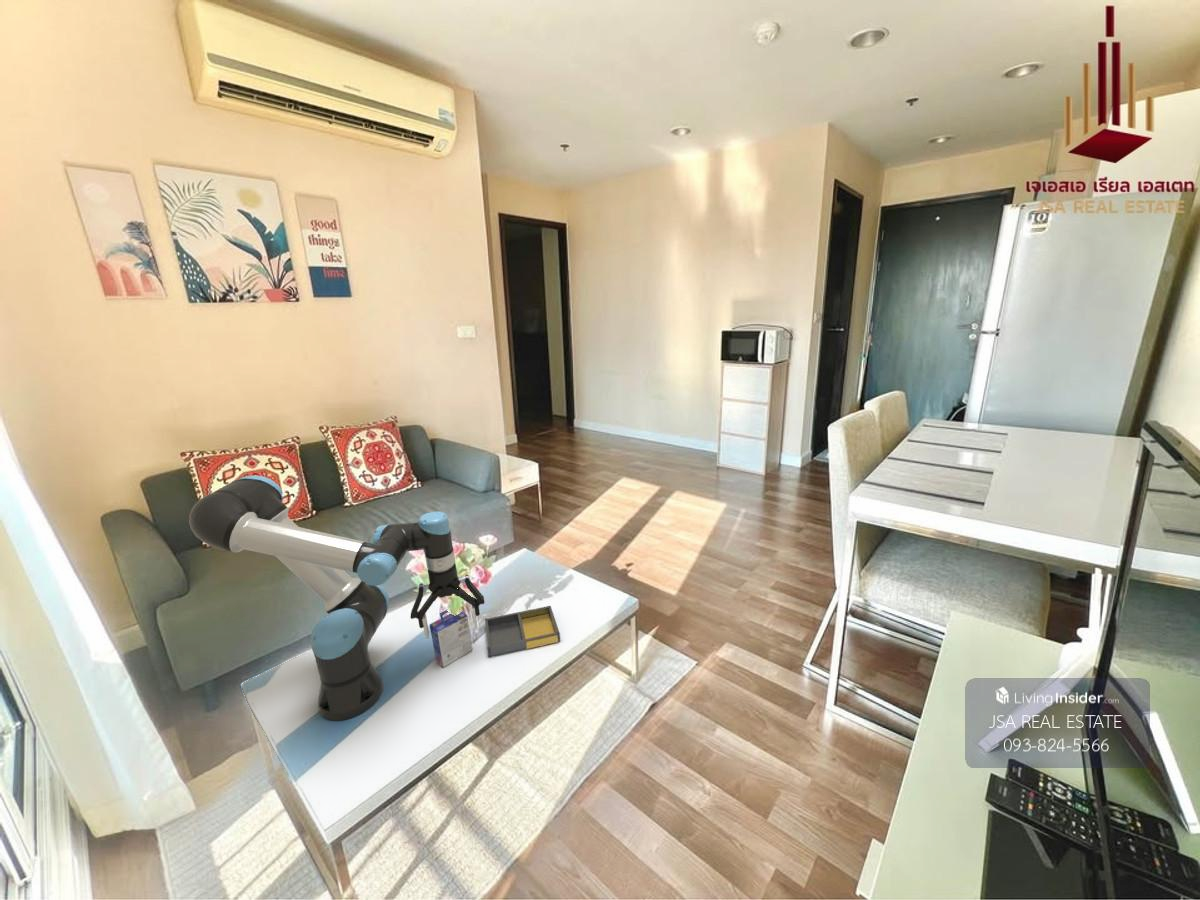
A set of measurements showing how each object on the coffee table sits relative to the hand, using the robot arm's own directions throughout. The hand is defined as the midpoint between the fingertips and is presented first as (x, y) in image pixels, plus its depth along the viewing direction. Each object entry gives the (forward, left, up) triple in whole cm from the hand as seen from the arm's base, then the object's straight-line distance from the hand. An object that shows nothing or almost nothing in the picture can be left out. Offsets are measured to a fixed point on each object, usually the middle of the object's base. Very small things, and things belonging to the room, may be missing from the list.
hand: (452, 630), depth 135 cm
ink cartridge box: (0, 0, -9) cm, 9 cm away
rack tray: (+20, +3, -9) cm, 22 cm away
